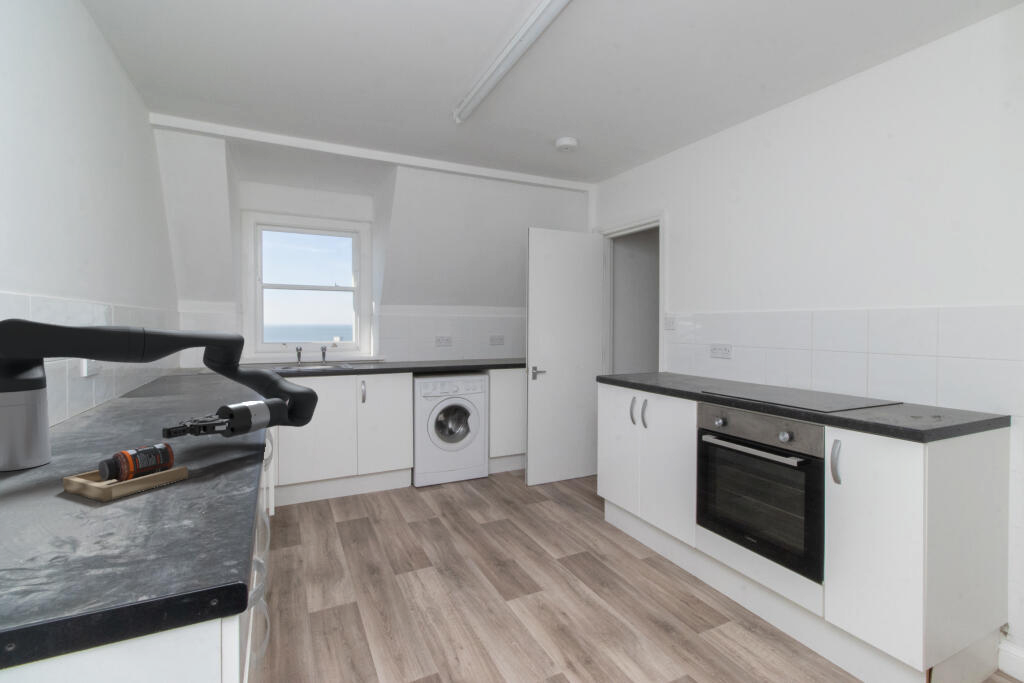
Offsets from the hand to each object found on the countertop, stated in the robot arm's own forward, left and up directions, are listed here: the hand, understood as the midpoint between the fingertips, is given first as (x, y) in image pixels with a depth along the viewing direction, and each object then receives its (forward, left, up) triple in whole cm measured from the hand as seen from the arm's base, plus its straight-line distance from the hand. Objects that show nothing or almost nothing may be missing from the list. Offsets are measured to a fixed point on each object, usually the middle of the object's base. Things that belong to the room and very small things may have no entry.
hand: (164, 433), depth 101 cm
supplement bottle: (-1, +1, -5) cm, 5 cm away
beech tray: (0, -7, -8) cm, 11 cm away
